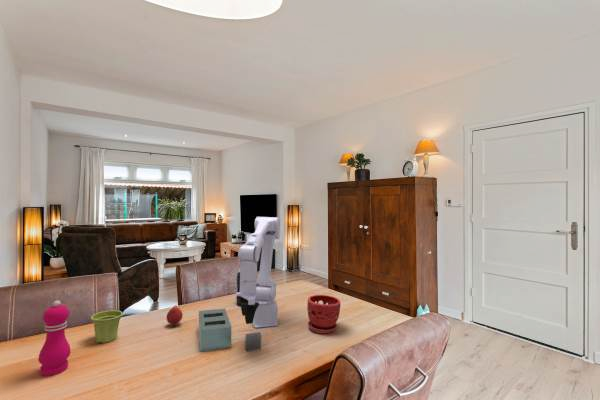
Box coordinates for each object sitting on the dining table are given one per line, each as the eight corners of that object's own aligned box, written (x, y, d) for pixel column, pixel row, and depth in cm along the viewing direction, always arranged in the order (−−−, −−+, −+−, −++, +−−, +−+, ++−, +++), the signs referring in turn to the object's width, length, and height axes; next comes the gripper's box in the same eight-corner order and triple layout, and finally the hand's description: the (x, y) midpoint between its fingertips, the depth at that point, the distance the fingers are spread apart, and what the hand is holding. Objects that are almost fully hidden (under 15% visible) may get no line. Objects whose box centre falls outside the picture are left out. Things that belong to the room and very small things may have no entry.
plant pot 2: (317, 338, 112) (318, 306, 112) (301, 325, 124) (301, 296, 124) (346, 332, 118) (347, 301, 118) (328, 320, 130) (328, 292, 130)
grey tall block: (259, 346, 105) (259, 332, 105) (260, 349, 103) (261, 334, 103) (245, 348, 103) (245, 333, 103) (246, 351, 101) (246, 336, 102)
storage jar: (254, 307, 143) (255, 276, 144) (234, 307, 144) (234, 275, 144) (257, 301, 153) (258, 271, 154) (238, 300, 154) (239, 270, 154)
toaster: (224, 325, 122) (225, 308, 122) (230, 347, 104) (231, 326, 104) (198, 328, 118) (199, 310, 118) (200, 351, 100) (200, 330, 100)
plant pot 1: (117, 331, 114) (118, 308, 114) (124, 339, 107) (125, 315, 107) (87, 338, 107) (88, 314, 108) (93, 348, 101) (94, 322, 101)
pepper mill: (50, 363, 91) (52, 296, 91) (75, 363, 91) (78, 296, 92) (30, 377, 83) (33, 304, 84) (58, 377, 84) (61, 304, 84)
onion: (176, 329, 117) (176, 308, 117) (163, 327, 118) (163, 307, 118) (184, 323, 123) (185, 303, 123) (172, 322, 124) (172, 302, 124)
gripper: (233, 275, 111) (232, 312, 110) (239, 286, 97) (238, 328, 97) (253, 274, 113) (252, 311, 113) (261, 284, 99) (260, 326, 99)
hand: (247, 319), depth 105 cm, fingers open, 7 cm apart
